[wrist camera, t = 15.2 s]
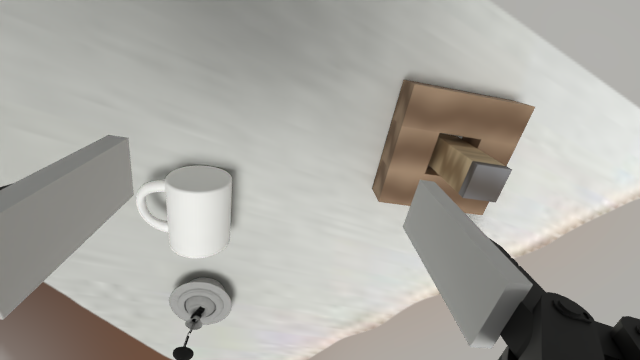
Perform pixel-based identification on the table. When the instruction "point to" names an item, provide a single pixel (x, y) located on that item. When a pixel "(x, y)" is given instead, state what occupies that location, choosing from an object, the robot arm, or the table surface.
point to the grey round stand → (199, 307)
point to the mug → (192, 209)
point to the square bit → (468, 169)
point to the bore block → (450, 118)
